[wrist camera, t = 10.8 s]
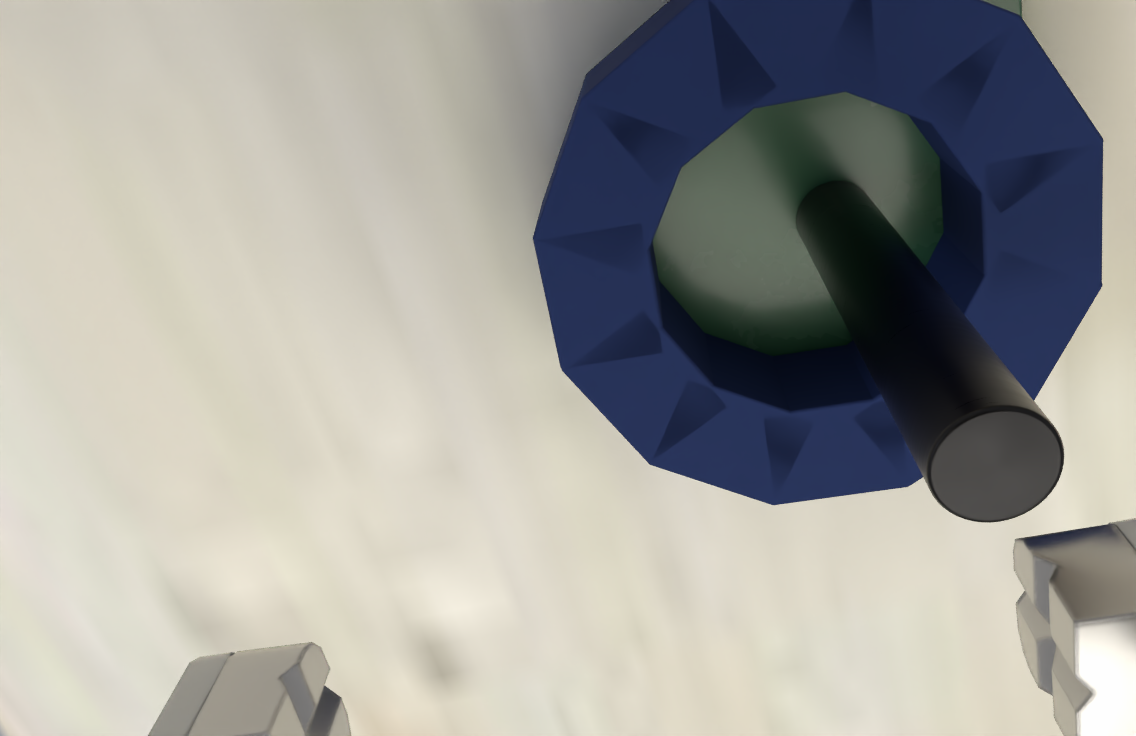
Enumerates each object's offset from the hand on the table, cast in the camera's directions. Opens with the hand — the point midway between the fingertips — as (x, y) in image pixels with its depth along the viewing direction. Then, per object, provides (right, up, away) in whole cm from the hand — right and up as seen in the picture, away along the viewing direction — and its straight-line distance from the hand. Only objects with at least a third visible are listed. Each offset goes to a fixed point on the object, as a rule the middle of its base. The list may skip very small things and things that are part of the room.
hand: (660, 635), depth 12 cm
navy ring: (+4, +7, +13) cm, 15 cm away
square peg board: (+5, +7, +14) cm, 16 cm away
